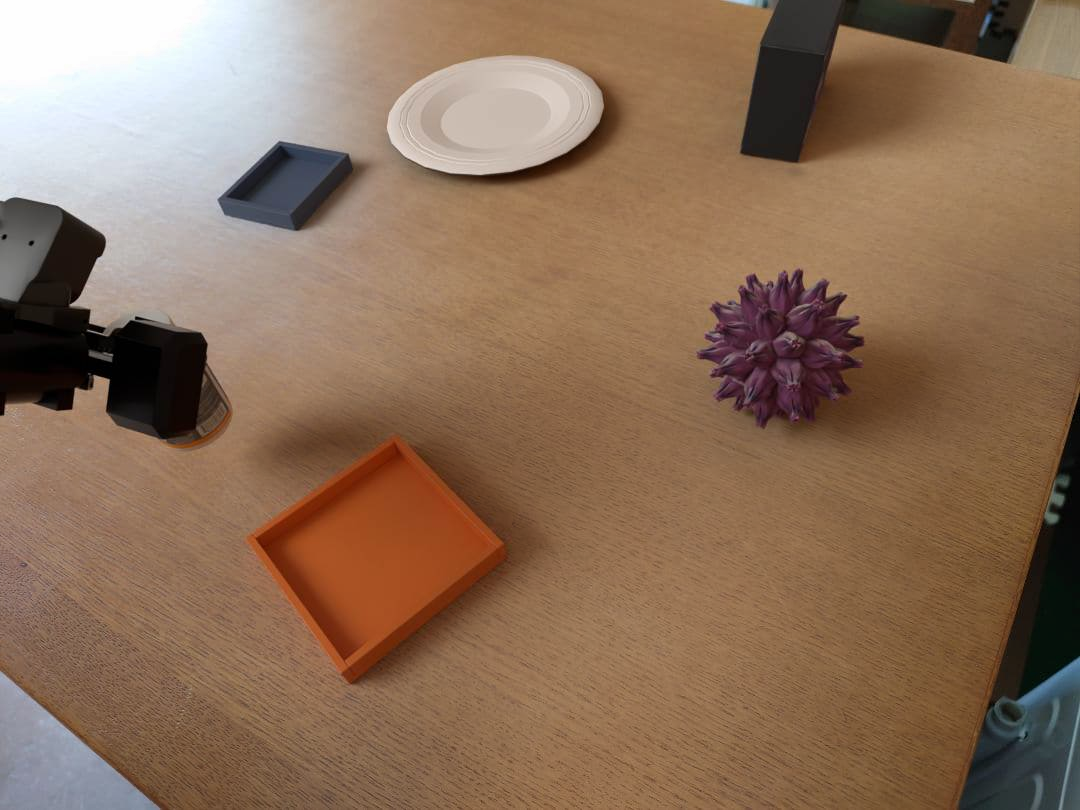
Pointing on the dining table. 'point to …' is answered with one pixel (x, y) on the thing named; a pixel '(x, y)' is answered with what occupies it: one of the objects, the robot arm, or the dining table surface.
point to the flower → (781, 347)
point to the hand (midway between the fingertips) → (171, 352)
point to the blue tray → (286, 185)
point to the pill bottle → (212, 400)
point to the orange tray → (375, 554)
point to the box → (790, 76)
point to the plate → (495, 115)
